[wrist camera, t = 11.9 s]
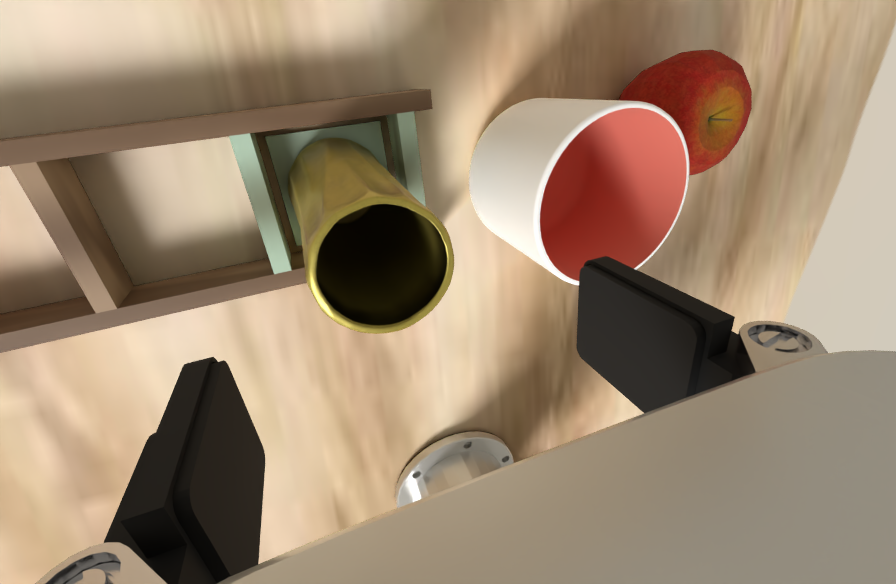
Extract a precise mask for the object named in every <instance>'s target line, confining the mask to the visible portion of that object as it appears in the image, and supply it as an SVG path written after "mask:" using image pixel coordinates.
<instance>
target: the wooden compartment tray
mask: <svg viewBox="0 0 896 584" xmlns="http://www.w3.org/2000/svg"><path fill="white" fill-rule="evenodd" d="M428 109H432V100H431V91H430V90H421V89H415V90H407V91H399V92H390V93H382V94H374V95H365V96H357V97H349V98H340V99H332V100H324V101H315V102H307V103H299V104H290V105H282V106H274V107H265V108H257V109H249V110H240V111H232V112H224V113H215V114H207V115H199V116H190V117H182V118H174V119H165V120H157V121H149V122H140V123H132V124H124V125H115V126H107V127H99V128H90V129H82V130H74V131H65V132H57V133H49V134H40V135H32V136H24V137H15V138H7V139H0V167H2V166H10V168H11V169H12V171H13V173H14V174H15V176H16V178H17V180H18V181H19V183H20V185H21V186H22V188H23V190H24V192H25V193H26V195H27V197H28V198H29V200H30V202H31V203H32V205H33V207H34V209H35V210H36V212H37V214H38V215H39V217H40V219H41V221H42V222H43V224H44V226H45V227H46V229H47V231H48V232H49V234H50V236H51V238H52V239H53V241H54V243H55V244H56V246H57V248H58V250H59V251H60V253H61V255H62V256H63V258H64V260H65V261H66V263H67V265H68V267H69V268H70V270H71V272H72V273H73V275H74V277H75V279H76V280H77V282H78V284H79V285H80V287H81V289H82V290H83V292H84V294H85V296H86V297H81V298H76V299H71V300H67V301H62V302H57V303H52V304H48V305H43V306H38V307H33V308H28V309H24V310H19V311H14V312H9V313H5V314H0V353H2V352H6V351H11V350H15V349H19V348H24V347H28V346H32V345H37V344H41V343H46V342H50V341H54V340H59V339H63V338H67V337H72V336H76V335H81V334H85V333H89V332H94V331H98V330H102V329H107V328H111V327H115V326H120V325H124V324H129V323H133V322H137V321H142V320H146V319H150V318H155V317H159V316H163V315H168V314H172V313H177V312H181V311H185V310H190V309H194V308H198V307H203V306H207V305H211V304H216V303H220V302H225V301H229V300H233V299H238V298H242V297H246V296H251V295H255V294H260V293H264V292H268V291H273V290H277V289H281V288H286V287H290V286H294V285H299V284H303V283H307V281H306V277H305V264H304V256H303V251H301V252H296V253H291V252H290V249H289V246H288V242H287V239H286V236H285V232H284V229H283V226H282V222H281V219H280V216H279V212H278V209H277V206H276V202H275V199H274V196H273V192H272V189H271V186H270V182H269V179H268V176H267V172H266V169H265V166H264V162H263V159H262V156H261V152H260V149H259V146H258V142H257V139H256V136H255V133H256V132H264V131H271V130H279V129H286V128H294V127H301V126H308V125H316V124H323V123H331V122H338V121H346V120H353V119H361V118H368V117H376V116H383V115H386V116H387V122H388V129H389V135H390V142H391V148H392V155H393V161H394V168H395V174H396V180H397V181H398V182H399V183H400V184H401V185H402V186H403V187H404V188H405V189H407V190H408V191H409V192H410V193H411V194H412V195H413V196H414V197H415V198H416V199H417V200H418V201H419V202H420V203H422V204H423V205H424V206H425V207H426V203H425V195H424V187H423V179H422V171H421V163H420V155H419V147H418V139H417V131H416V123H415V115H414V111H420V110H428ZM226 136H229V138H230V141H231V144H232V147H233V150H234V153H235V157H236V160H237V163H238V166H239V169H240V172H241V175H242V178H243V181H244V184H245V187H246V190H247V193H248V196H249V199H250V202H251V205H252V208H253V211H254V214H255V217H256V220H257V223H258V226H259V229H260V232H261V235H262V239H263V242H264V245H265V248H266V251H267V254H268V257H269V258H267V259H262V260H258V261H253V262H248V263H243V264H239V265H234V266H229V267H224V268H219V269H215V270H210V271H205V272H200V273H196V274H191V275H186V276H181V277H176V278H172V279H167V280H162V281H157V282H153V283H148V284H143V285H138V286H134V285H133V284H132V282H131V280H130V278H129V276H128V274H127V272H126V270H125V268H124V266H123V264H122V262H121V260H120V258H119V256H118V254H117V253H116V251H115V249H114V247H113V245H112V243H111V241H110V239H109V237H108V235H107V233H106V231H105V229H104V227H103V225H102V224H101V222H100V220H99V218H98V216H97V214H96V212H95V210H94V208H93V206H92V204H91V202H90V200H89V198H88V196H87V194H86V193H85V191H84V189H83V187H82V185H81V183H80V181H79V179H78V177H77V175H76V173H75V171H74V169H73V167H72V165H71V163H70V162H69V160H68V158H70V157H77V156H84V155H92V154H99V153H107V152H114V151H122V150H129V149H137V148H144V147H152V146H159V145H167V144H174V143H182V142H189V141H196V140H204V139H211V138H219V137H226ZM325 138H345V139H349V140H352V141H354V142H356V143H358V144H360V145H362V146H364V147H365V148H367V149H368V150H369V151H371V152H372V154H373V155H374V156H375V157H376V159H377V160H378V161H379V163H380V164H381V165H382V166H383V167H384V168H385V169H386V170H387V171H388V168H387V161H386V155H385V149H384V143H383V137H382V131H381V124H380V121H374V122H367V123H360V124H352V125H345V126H338V127H330V128H323V129H316V130H309V131H301V132H294V133H287V134H279V135H272V136H265V139H266V142H267V145H268V149H269V152H270V156H271V159H272V163H273V166H274V170H275V173H276V176H277V180H278V183H279V187H280V190H281V194H282V197H283V201H284V204H285V208H286V211H287V214H288V218H289V221H290V225H291V228H292V232H293V235H294V239H295V242H296V245H297V246H299V245H302V240H301V228H300V225H299V223H298V219H297V217H296V213H295V210H294V207H293V205H292V203H291V201H290V198H289V194H288V175H289V171H290V169H291V167H292V165H293V163H294V161H295V160H296V158H297V156H298V155H299V153H300V152H301V151H302V150H303V149H304V148H306V147H307V146H309V145H310V144H312V143H314V142H316V141H318V140H322V139H325Z"/></svg>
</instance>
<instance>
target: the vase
mask: <svg viewBox="0 0 896 584" xmlns="http://www.w3.org/2000/svg"><path fill="white" fill-rule="evenodd" d="M288 194H289V198H290V201H291V203H292V205H293V207H294V210H295V213H296V217H297V219H298V223H299V225H300V228H301V240H302V247H303V256H304V264H305V277H306V281H307V284H308V286H309V288H310V290H311V292H312V294H313V296H314V298H315V299H316V301H317V303H318V305H319V307H320V309H321V310H322V311H323V312H324V313H325V314H326V315H327V316H329V317H330V318H331V319H333V320H334V321H335V322H336V323H338V324H340V325H342V326H345V327H347V328H349V329H352V330H355V331H358V332H363V333H373V334H379V333H389V332H395V331H399V330H402V329H405V328H407V327H409V326H411V325H413V324H415V323H416V322H418V321H419V320H421V319H422V318H423V317H425V316H426V315H427V314H428V313H430V312H431V311H432V310H433V309H434V308H435V306H436V305H437V304H438V303H439V301H440V300H441V299H442V297H443V296H444V294H445V292H446V291H447V289H448V287H449V285H450V282H451V279H452V274H453V269H454V254H453V249H452V244H451V240H450V237H449V234H448V232H447V230H446V228H445V227H444V225H443V224H442V223H441V222H440V220H439V219H438V218H437V217H436V216H435V215H434V214H433V213H432V211H431V210H430V209H428V208H427V207H425V206H424V205H423V204H422V203H420V202H419V201H418V200H417V199H416V198H415V197H414V196H413V195H412V194H411V193H410V192H409V191H408V190H407V189H405V188H404V187H403V186H402V185H401V184H400V183H399V182H398V181H397V180H396V179H395V178H394V177H393V176H392V175H391V174H390V173H389V172H388V171H387V170H386V169H385V168H384V167H383V166H382V165H381V164H380V163H379V161H378V160H377V159H376V157H375V156H374V155H373V154H372V152H371V151H369V150H368V149H367V148H365V147H364V146H362V145H360V144H358V143H356V142H354V141H352V140H349V139H345V138H325V139H322V140H318V141H316V142H314V143H312V144H310V145H309V146H307V147H306V148H304V149H303V150H302V151H301V152H300V153H299V155H298V156H297V158H296V160H295V161H294V163H293V165H292V167H291V169H290V171H289V175H288Z"/></svg>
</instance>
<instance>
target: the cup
mask: <svg viewBox="0 0 896 584" xmlns="http://www.w3.org/2000/svg"><path fill="white" fill-rule="evenodd" d="M688 181H689V155H688V149H687V145H686V141H685V139H684V136H683V134H682V131H681V130H680V128H679V126H678V125H677V123H676V122H675V121H674V119H673V118H672V117H671V116H670V115H669V114H667V113H666V112H665V111H663V110H662V109H661V108H659V107H657V106H655V105H653V104H650V103H646V102H641V101H620V100H591V99H561V98H534V99H529V100H525V101H522V102H519V103H517V104H515V105H513V106H511V107H509V108H508V109H506V110H505V111H503V112H502V113H501V114H500V115H498V116H497V117H496V118H495V119H494V120H493V121H492V122H491V123H490V124H489V126H488V127H487V128H486V129H485V131H484V132H483V134H482V136H481V137H480V139H479V141H478V143H477V145H476V147H475V150H474V153H473V156H472V159H471V164H470V170H469V190H470V196H471V200H472V203H473V206H474V209H475V211H476V213H477V215H478V216H479V218H480V219H481V221H482V222H483V223H484V224H485V226H486V227H487V228H488V229H489V230H491V231H492V232H493V233H494V234H496V235H497V236H499V237H500V238H502V239H503V240H505V241H506V242H508V243H509V244H511V245H512V246H514V247H515V248H516V249H518V250H519V251H521V252H522V253H524V254H525V255H527V256H528V257H530V258H531V259H532V260H534V261H535V262H537V263H538V264H540V265H541V266H543V267H544V268H546V269H547V270H548V271H550V272H551V273H553V274H554V275H556V276H557V277H559V278H560V279H562V280H564V281H566V282H568V283H571V284H574V285H579V275H580V270H581V268H582V267H584V264H585V262H586V261H588V260H592V259H596V258H600V257H604V256H608V257H610V258H613V259H615V260H617V261H619V262H621V263H623V264H625V265H627V266H629V267H631V268H633V269H635V270H636V269H638V268H639V267H640V266H642V265H643V264H644V263H645V262H646V261H647V260H648V259H649V258H650V257H652V255H653V254H654V253H655V252H656V251H657V250H658V249H659V247H660V246H661V245H662V244H663V242H664V241H665V239H666V238H667V237H668V235H669V234H670V232H671V230H672V228H673V227H674V225H675V223H676V221H677V219H678V216H679V214H680V212H681V209H682V206H683V203H684V200H685V196H686V192H687V188H688Z"/></svg>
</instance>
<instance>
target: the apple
mask: <svg viewBox="0 0 896 584" xmlns="http://www.w3.org/2000/svg"><path fill="white" fill-rule="evenodd" d="M619 100H620V101H641V102H646V103H650V104H653V105H655V106H657V107H659V108H661V109H662V110H663V111H665V112H666V113H667V114H669V115H670V116H671V117H672V118H673V119H674V121H675V122H676V123H677V125H678V126H679V128H680V130H681V131H682V134H683V136H684V139H685V141H686V145H687V149H688V155H689V175H694V174H698V173H701V172H704V171H705V170H707V169H709V168H711V167H712V166H714V165H716V164H718V163H719V162H721V161H722V160H723V159H724V158H725V157H727V155H728V154H729V153H730V151H731V150H732V149H733V147H734V146H735V145H736V144H737V142H738V140H739V138H740V136H741V134H742V133H743V131H744V129H745V127H746V124H747V121H748V118H749V114H750V111H751V88H750V85H749V83H748V80H747V78H746V75H745V73H744V70H743V68H742V66H741V65H740V64H739V63H737V62H736V61H734V60H733V59H731V58H729V57H728V56H726V55H724V54H722V53H720V52H717V51H714V50H698V51H689V52H682V53H679V54H677V55H675V56H673V57H671V58H668V59H666V60H664V61H662V62H660V63H658V64H656V65H654V66H651V67H650V68H648V69H646V70H644V71H642V72H641V73H640V74H639V75H638V76H637V77H636V78H635V79H634V80H633V81H632V82H631V83H630V84H629V85H628V86H627V87H626V88H625V89H624V90H623V92H622V94H621V96H620V99H619Z"/></svg>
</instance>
